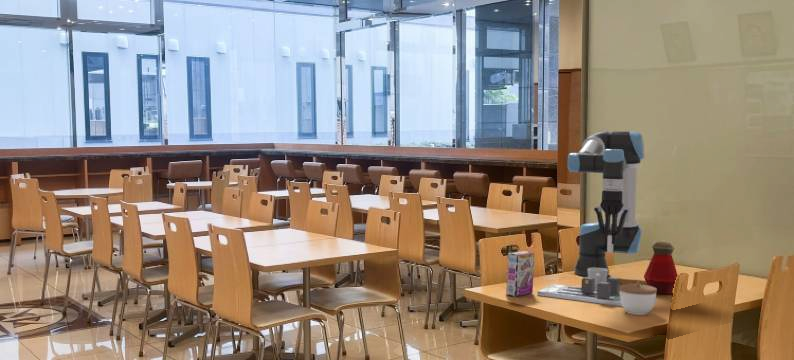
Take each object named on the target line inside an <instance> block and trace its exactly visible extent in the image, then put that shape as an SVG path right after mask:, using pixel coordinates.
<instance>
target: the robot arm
mask: <svg viewBox="0 0 794 360" xmlns="http://www.w3.org/2000/svg"><path fill="white" fill-rule="evenodd" d="M581 147H582V148H581V149H580V150H579V152H571V153H569V154H568V156H567V169H568V171H569V172H572V173H598V174H602V179H601V180H602V182H601V186H602V187H601V188H602V189H603V190H602V191H601V202H600V205H599V206H597V207H594V209H593V210H594V212H595V213H596V217H597V222H589V223H588V222H587V223H584V224H582V225H580V228H579V235H578V236H579V243H578V247H579V248H578V251H579V252H578V257H577V260H576V263H575V266H574V268H573V269H574V270H573V271H574V272H573V273H574V274H575V275H578V276H581V277H588V268H604V269H607V270H608V273H607V277H608V276H609V275H610V269H609V266H608V262H607V259H606V257H607V256H606V255H607V254H606V253H608V254H611V253H616V254H626V255H627V254H629V255H630V254H632V255H633V254H637V253H638V252H639V249H640V245H641V240H642V239H641V238H642V233H643V228H642V227H640V226H639V225H640V223H639V222H638V221H637V220H636V209H637V207H636V205H637V204H636V202H637V170H638V168H637V167H638V166H639V165H640V164H641V160H644V158H645V148H644V147H645V146H644V139H643V135H642V134H641V132H639V131H638V132H637V131H630V130H629V131H628V130H627V131H625V130H624V131H617V130H615V131H611V130H610V131H608V130H606V131H605V130H604V131H600V132H596V133H594V134H591V135H589V136H588V137H587V138H586V139H584V141H583V142H582V146H581ZM602 211H603V212H604V217H605V218H603V213H602ZM611 218H612V219H611ZM604 219H605V221H604Z"/></svg>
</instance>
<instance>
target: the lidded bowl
mask: <svg viewBox="0 0 794 360" xmlns="http://www.w3.org/2000/svg"><path fill="white" fill-rule="evenodd" d="M619 290H620V302H621V305H622V306H621V308H623V309H624V310H625V311H626V313H627V314H630V315H635V316H645V315H646V316H647V315H648V313H650V312H651V310H653V308H654V306H655V304H656V301H657V300H656V299H657V294H656V292H657V289H656V288H655V287H652V286H648V285H647V284H641V283H640V281H636V283H624V284H620V286H619Z"/></svg>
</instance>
